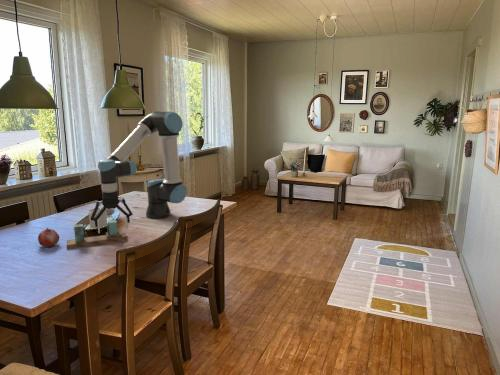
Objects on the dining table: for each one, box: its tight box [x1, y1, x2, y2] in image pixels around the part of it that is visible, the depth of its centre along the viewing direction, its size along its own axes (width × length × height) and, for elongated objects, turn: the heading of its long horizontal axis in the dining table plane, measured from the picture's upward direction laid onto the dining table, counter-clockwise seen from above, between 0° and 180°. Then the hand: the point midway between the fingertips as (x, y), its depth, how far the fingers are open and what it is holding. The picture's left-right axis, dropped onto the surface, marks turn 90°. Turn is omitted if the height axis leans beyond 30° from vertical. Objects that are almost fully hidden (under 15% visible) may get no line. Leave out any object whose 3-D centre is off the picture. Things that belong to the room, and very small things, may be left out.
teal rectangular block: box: [106, 219, 119, 236], centre depth 190 cm, size 5×4×8 cm
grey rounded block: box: [88, 207, 108, 229], centre depth 208 cm, size 12×9×11 cm
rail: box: [66, 223, 128, 250], centre depth 187 cm, size 28×7×10 cm, turn 115°
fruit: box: [37, 227, 60, 248], centre depth 182 cm, size 9×10×10 cm
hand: (113, 230), depth 190 cm, fingers open, 13 cm apart
